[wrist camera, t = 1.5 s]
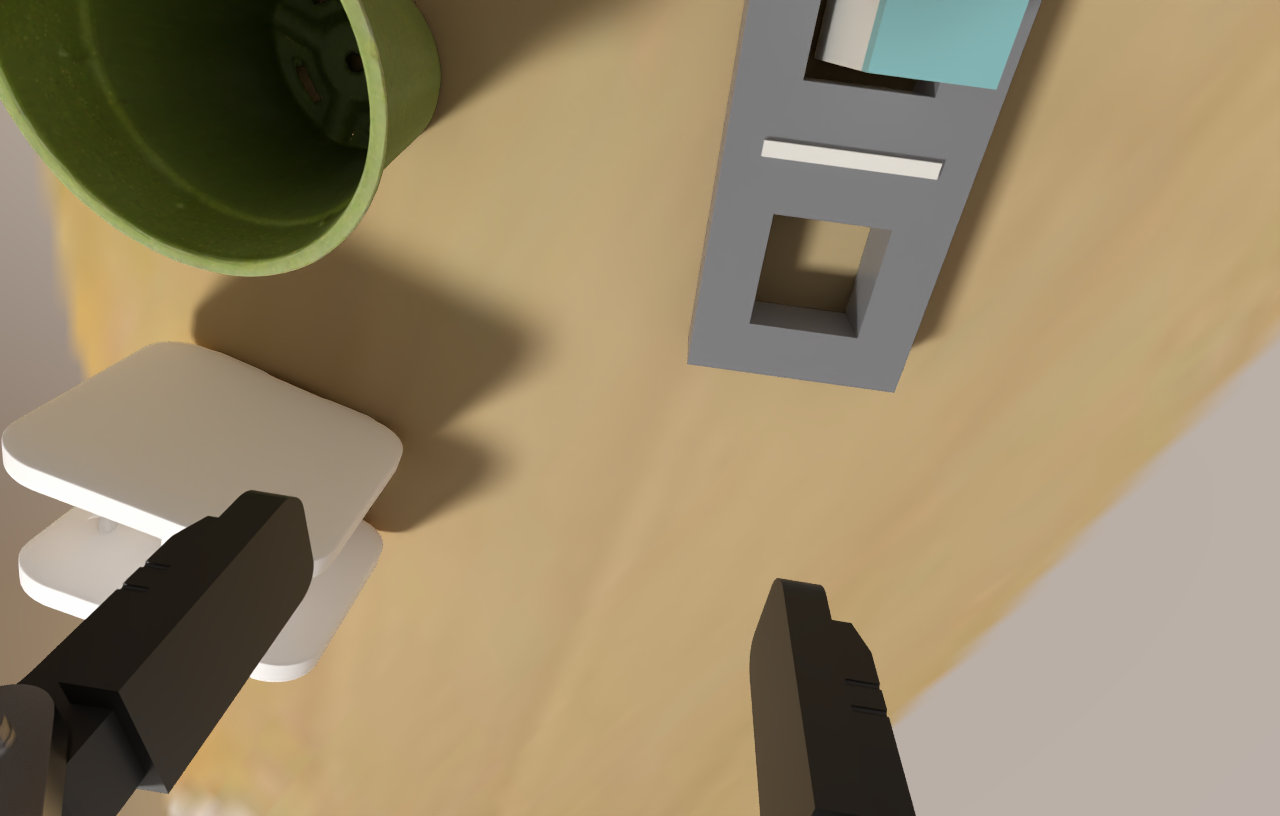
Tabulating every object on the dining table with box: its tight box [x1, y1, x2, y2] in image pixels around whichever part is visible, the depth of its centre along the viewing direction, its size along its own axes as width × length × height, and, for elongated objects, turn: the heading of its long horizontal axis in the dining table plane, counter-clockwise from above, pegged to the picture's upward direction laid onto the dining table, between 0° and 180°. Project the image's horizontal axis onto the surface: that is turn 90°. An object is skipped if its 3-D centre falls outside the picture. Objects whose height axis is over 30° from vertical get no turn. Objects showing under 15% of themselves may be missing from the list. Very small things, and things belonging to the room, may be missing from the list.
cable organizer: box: [2, 341, 403, 682], centre depth 34 cm, size 15×11×12 cm
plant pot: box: [0, 0, 441, 277], centre depth 22 cm, size 12×12×11 cm
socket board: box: [687, 0, 1042, 393], centre depth 26 cm, size 20×10×3 cm, turn 174°
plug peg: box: [814, 0, 1029, 90], centre depth 21 cm, size 4×4×10 cm
